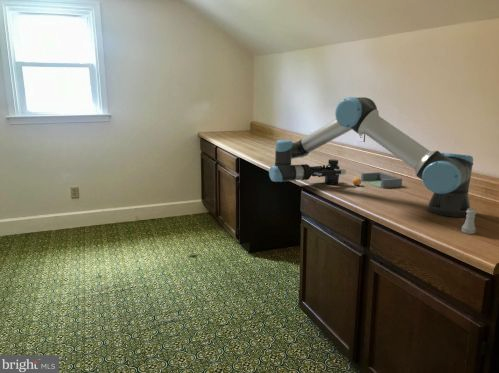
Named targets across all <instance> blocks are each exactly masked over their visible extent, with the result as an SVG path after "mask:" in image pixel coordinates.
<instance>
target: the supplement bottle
mask: <svg viewBox="0 0 499 373" xmlns="http://www.w3.org/2000/svg"><path fill="white" fill-rule="evenodd" d="M325 167H326V170H334V169H341V168H340V166H339V160H338V159H334V158H330V159H328V163H327V165H325ZM339 179H340V175H336V176H335V177H334V176H324V184H326V185H330V186H336V185H339Z"/></svg>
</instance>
